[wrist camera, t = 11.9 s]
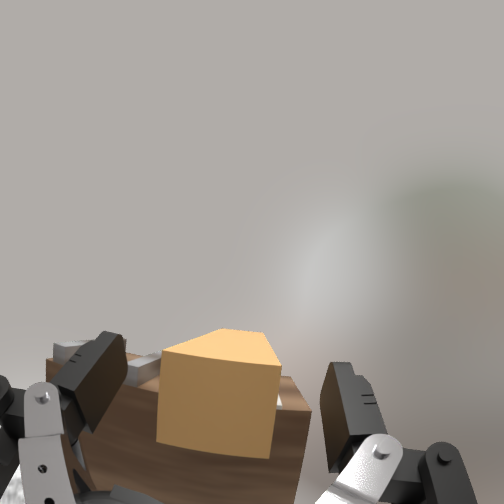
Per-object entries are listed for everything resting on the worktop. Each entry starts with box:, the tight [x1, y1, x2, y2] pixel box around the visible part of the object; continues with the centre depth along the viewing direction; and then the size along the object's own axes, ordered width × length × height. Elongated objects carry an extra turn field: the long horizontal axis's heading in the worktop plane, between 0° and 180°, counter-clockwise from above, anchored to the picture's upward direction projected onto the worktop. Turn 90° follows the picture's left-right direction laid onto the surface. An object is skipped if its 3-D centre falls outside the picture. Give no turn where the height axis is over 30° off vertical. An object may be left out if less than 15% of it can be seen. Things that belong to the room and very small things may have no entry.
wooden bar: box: [156, 329, 282, 459], centre depth 21 cm, size 22×4×4 cm, turn 0°
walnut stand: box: [46, 339, 312, 504], centre depth 20 cm, size 12×20×32 cm, turn 89°
